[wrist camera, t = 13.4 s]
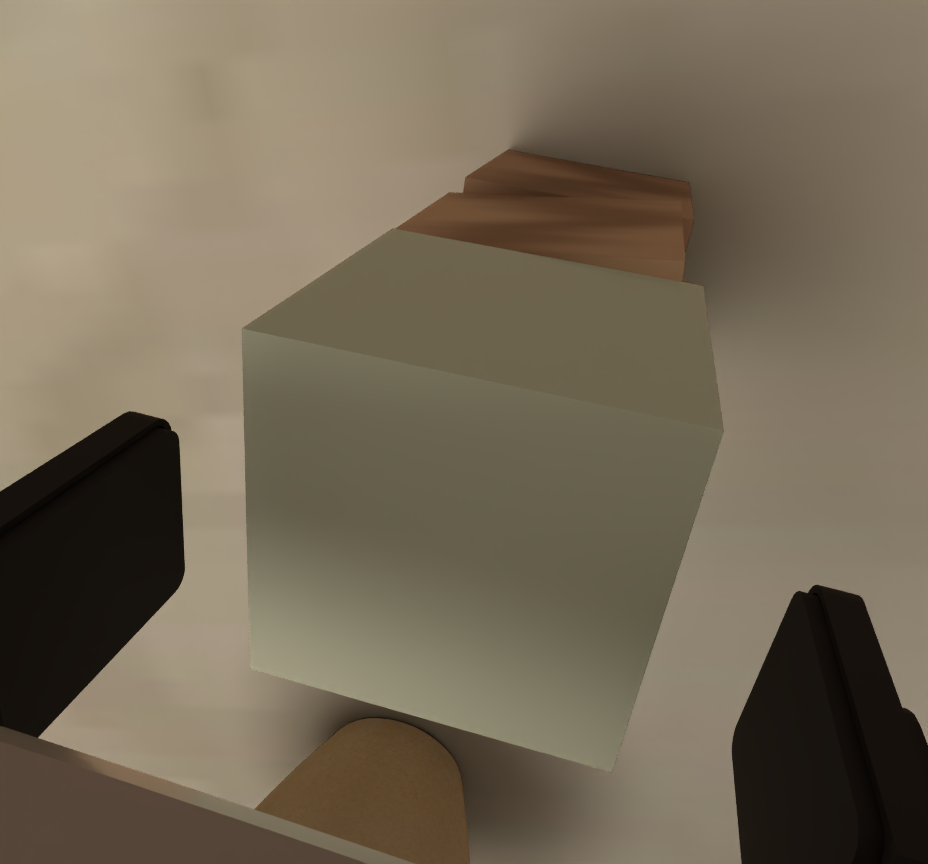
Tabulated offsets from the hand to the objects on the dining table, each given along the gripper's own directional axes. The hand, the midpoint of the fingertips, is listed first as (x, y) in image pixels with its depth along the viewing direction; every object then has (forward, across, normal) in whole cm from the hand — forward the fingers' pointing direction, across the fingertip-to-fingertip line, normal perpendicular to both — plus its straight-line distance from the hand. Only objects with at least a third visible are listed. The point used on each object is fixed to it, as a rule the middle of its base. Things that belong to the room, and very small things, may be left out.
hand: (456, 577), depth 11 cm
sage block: (+6, 0, -1) cm, 6 cm away
